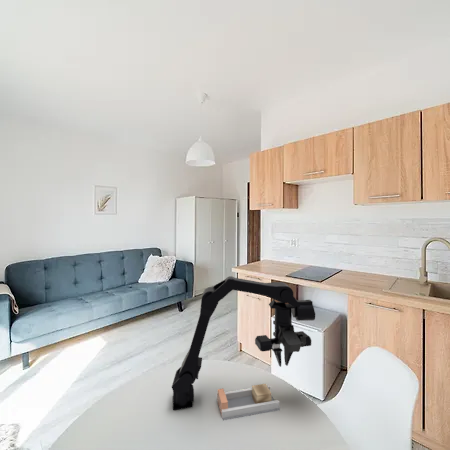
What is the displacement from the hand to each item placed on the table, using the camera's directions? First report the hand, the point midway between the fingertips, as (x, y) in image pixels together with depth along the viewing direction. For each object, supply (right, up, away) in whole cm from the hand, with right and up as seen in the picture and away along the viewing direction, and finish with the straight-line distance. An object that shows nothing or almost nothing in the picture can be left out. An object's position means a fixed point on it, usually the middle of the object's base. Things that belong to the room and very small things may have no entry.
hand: (283, 365), depth 83 cm
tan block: (-8, -11, -2) cm, 14 cm away
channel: (-13, -12, -3) cm, 18 cm away
